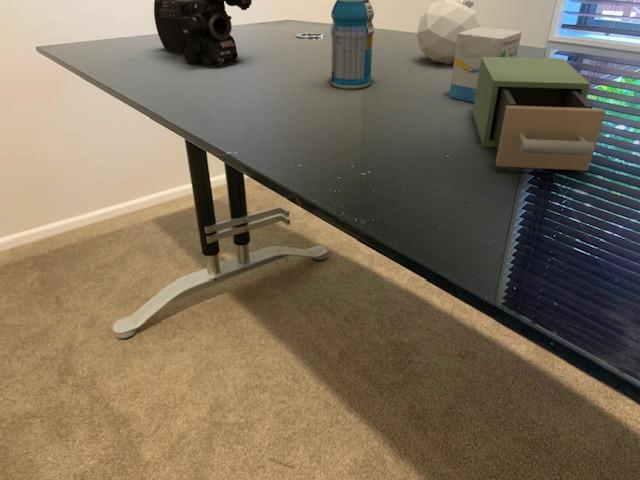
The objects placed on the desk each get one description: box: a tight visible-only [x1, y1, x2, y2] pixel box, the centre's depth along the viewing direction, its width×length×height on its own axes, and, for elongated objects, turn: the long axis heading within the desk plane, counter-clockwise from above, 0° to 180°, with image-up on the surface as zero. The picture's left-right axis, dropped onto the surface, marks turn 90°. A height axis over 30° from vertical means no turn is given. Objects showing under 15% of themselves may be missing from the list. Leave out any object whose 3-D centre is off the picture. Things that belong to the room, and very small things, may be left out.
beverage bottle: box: [330, 0, 375, 90], centre depth 98 cm, size 8×8×20 cm
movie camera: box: [153, 0, 253, 67], centre depth 122 cm, size 31×18×18 cm, turn 43°
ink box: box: [448, 26, 522, 104], centre depth 92 cm, size 8×8×12 cm
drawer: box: [491, 87, 606, 172], centre depth 67 cm, size 18×11×8 cm, turn 171°
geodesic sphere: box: [416, 0, 481, 65], centre depth 115 cm, size 15×14×14 cm
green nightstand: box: [472, 57, 591, 148], centre depth 77 cm, size 15×13×10 cm
